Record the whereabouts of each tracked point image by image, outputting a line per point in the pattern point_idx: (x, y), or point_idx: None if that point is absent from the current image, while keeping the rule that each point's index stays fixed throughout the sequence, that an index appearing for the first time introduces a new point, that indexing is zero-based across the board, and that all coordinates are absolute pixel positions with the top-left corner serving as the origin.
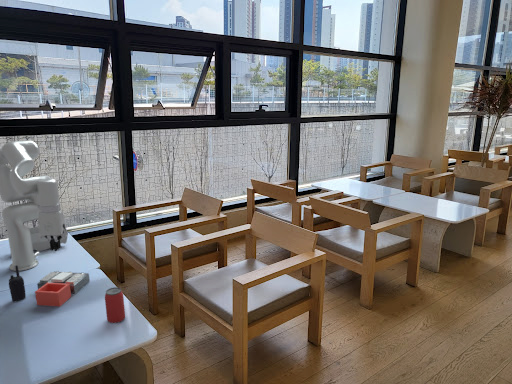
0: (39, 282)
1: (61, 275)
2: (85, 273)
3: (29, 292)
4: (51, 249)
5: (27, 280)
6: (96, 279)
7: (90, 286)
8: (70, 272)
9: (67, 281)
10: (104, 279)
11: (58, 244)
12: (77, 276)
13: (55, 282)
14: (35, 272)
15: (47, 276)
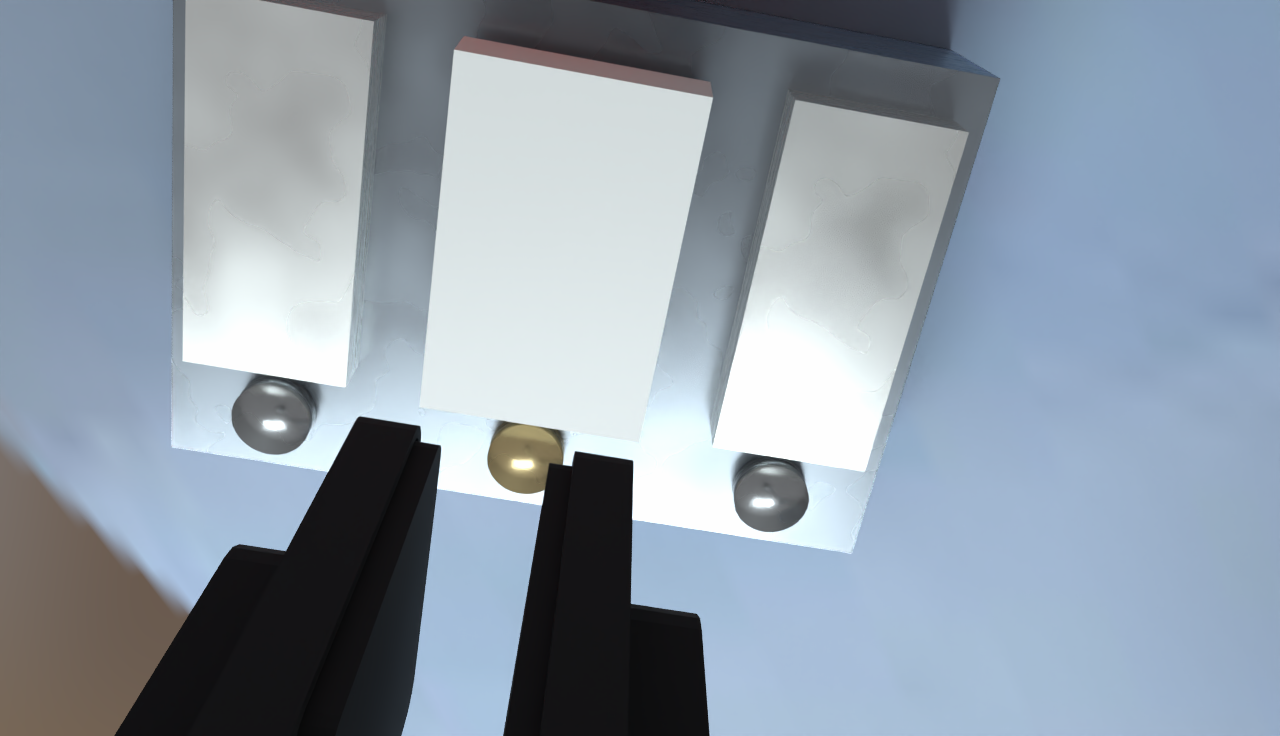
0: (969, 130)
1: (574, 282)
2: (233, 448)
3: (1105, 48)
4: (602, 473)
5: (1262, 468)
6: (154, 436)
7: (122, 204)
8: (507, 469)
9: (336, 30)
10: (21, 429)
11: (162, 689)
12: (244, 255)
13: None
14: (1211, 697)
15: (866, 290)
